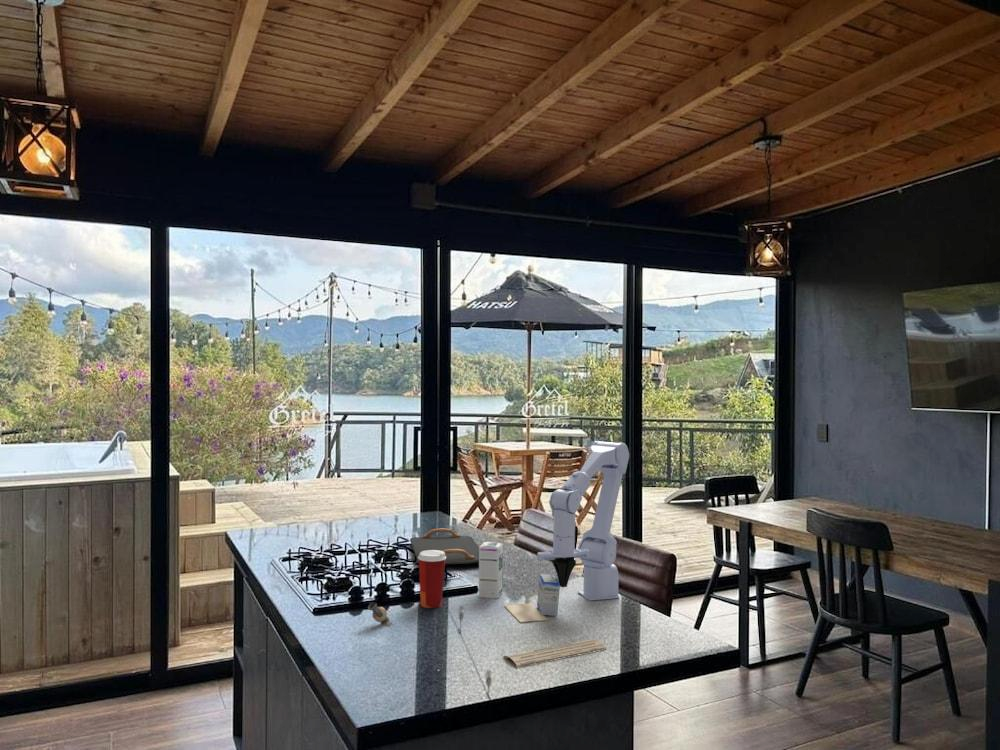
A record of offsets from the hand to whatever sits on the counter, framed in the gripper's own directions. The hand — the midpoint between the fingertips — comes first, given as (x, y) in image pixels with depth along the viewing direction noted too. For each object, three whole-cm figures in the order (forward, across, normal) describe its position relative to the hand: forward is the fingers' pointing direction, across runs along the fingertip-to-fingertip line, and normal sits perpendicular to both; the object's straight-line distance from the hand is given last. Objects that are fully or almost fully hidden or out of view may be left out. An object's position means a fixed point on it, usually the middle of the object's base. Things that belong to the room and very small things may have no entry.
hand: (563, 586), depth 189 cm
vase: (+7, +49, -3) cm, 49 cm away
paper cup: (+7, +32, -14) cm, 36 cm away
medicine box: (+6, +4, 0) cm, 8 cm away
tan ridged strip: (+7, +14, +26) cm, 30 cm away
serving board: (+7, +14, -64) cm, 66 cm away
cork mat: (+6, +10, 0) cm, 12 cm away
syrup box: (+7, +14, -18) cm, 24 cm away
